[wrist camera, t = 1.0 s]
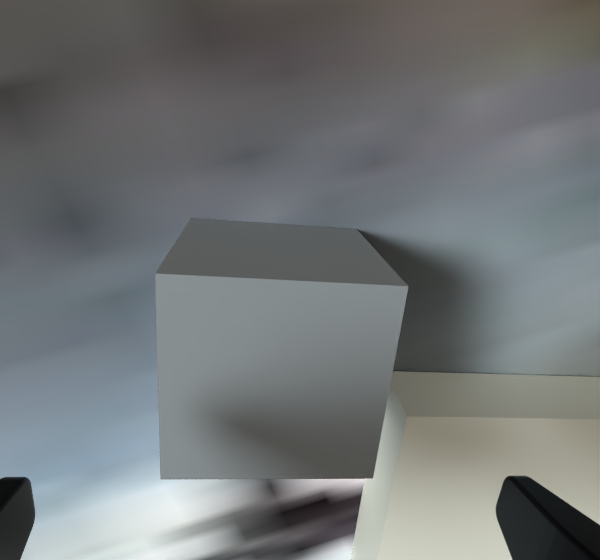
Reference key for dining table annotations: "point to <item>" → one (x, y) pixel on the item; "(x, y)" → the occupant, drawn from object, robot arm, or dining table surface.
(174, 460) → the grey cube
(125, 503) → the dining table surface
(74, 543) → the dining table surface
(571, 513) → the robot arm
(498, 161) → the dining table surface
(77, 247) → the dining table surface
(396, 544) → the base block
